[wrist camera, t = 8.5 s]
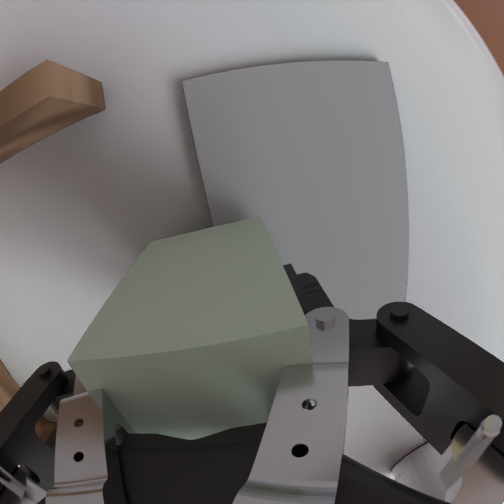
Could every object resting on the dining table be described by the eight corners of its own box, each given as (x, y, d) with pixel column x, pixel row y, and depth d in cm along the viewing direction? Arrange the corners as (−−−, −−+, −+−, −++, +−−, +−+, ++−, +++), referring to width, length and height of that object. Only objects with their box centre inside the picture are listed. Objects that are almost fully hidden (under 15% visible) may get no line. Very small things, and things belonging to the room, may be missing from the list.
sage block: (260, 216, 12) (308, 324, 5) (279, 313, 14) (319, 453, 7) (150, 241, 12) (66, 360, 5) (183, 332, 14) (158, 471, 7)
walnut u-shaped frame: (101, 82, 11) (46, 60, 6) (219, 435, 19) (220, 486, 15) (-71, 200, 10) (-109, 217, 6) (46, 428, 19) (31, 462, 15)
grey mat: (382, 64, 11) (388, 62, 11) (398, 327, 17) (402, 332, 16) (184, 83, 11) (182, 81, 11) (250, 365, 17) (251, 372, 16)
